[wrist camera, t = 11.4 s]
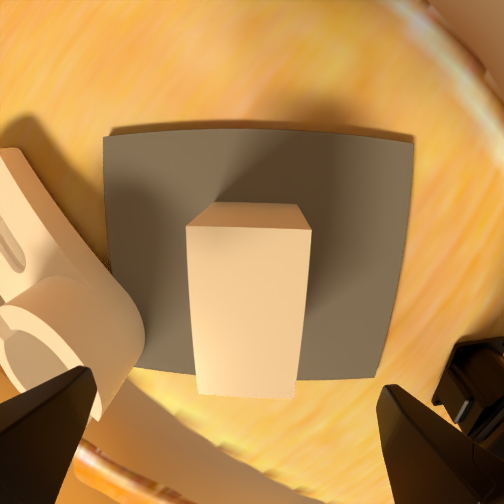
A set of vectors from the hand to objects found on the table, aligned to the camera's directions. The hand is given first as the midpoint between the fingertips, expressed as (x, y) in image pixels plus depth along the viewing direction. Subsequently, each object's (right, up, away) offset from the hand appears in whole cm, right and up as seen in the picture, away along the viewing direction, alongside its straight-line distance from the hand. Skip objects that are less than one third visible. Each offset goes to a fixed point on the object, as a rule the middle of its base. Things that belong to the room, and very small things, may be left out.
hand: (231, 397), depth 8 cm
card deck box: (+1, +3, +10) cm, 10 cm away
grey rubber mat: (+1, +3, +10) cm, 11 cm away
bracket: (-14, +3, +11) cm, 19 cm away
